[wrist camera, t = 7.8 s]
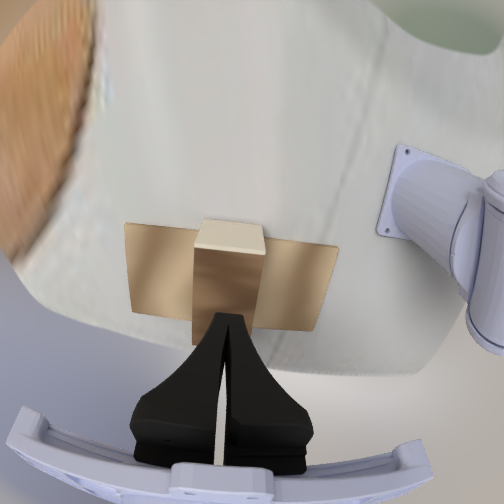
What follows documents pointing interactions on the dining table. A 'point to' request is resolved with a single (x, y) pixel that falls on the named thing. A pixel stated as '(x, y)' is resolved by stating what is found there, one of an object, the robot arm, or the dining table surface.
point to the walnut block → (226, 272)
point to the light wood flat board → (271, 285)
